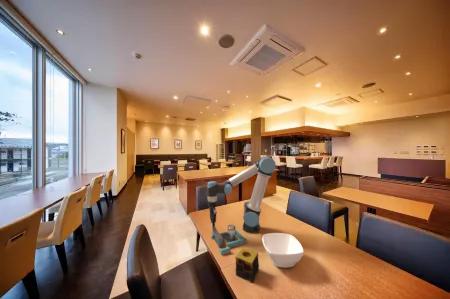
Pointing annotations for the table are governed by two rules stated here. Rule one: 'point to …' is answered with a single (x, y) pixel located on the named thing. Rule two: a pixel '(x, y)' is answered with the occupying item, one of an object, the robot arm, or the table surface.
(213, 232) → the lock pin
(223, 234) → the dock cradle
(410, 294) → the table surface
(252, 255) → the candle
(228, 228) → the spigot
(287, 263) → the bowl
